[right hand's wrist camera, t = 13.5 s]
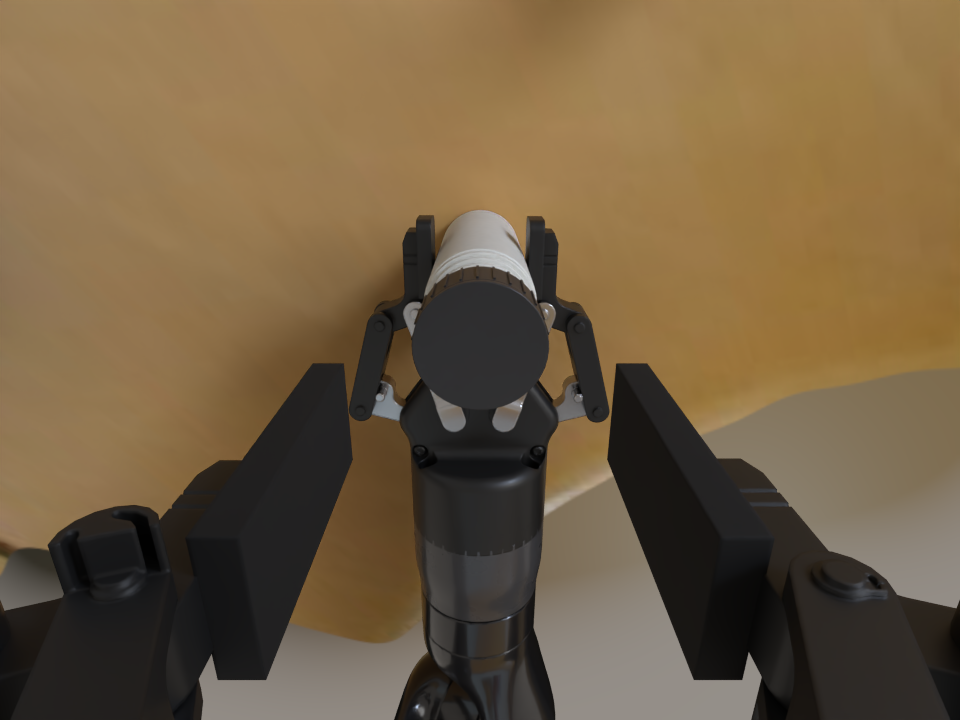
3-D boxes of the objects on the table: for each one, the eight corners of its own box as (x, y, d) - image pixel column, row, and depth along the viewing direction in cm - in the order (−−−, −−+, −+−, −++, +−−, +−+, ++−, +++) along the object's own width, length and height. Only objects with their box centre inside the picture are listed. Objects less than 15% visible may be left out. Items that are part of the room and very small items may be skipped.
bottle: (531, 230, 34) (575, 312, 18) (497, 298, 36) (511, 426, 20) (461, 196, 33) (445, 252, 18) (430, 266, 35) (389, 375, 19)
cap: (566, 297, 20) (576, 316, 18) (508, 403, 22) (511, 431, 20) (448, 242, 19) (445, 255, 17) (397, 355, 21) (388, 380, 19)
